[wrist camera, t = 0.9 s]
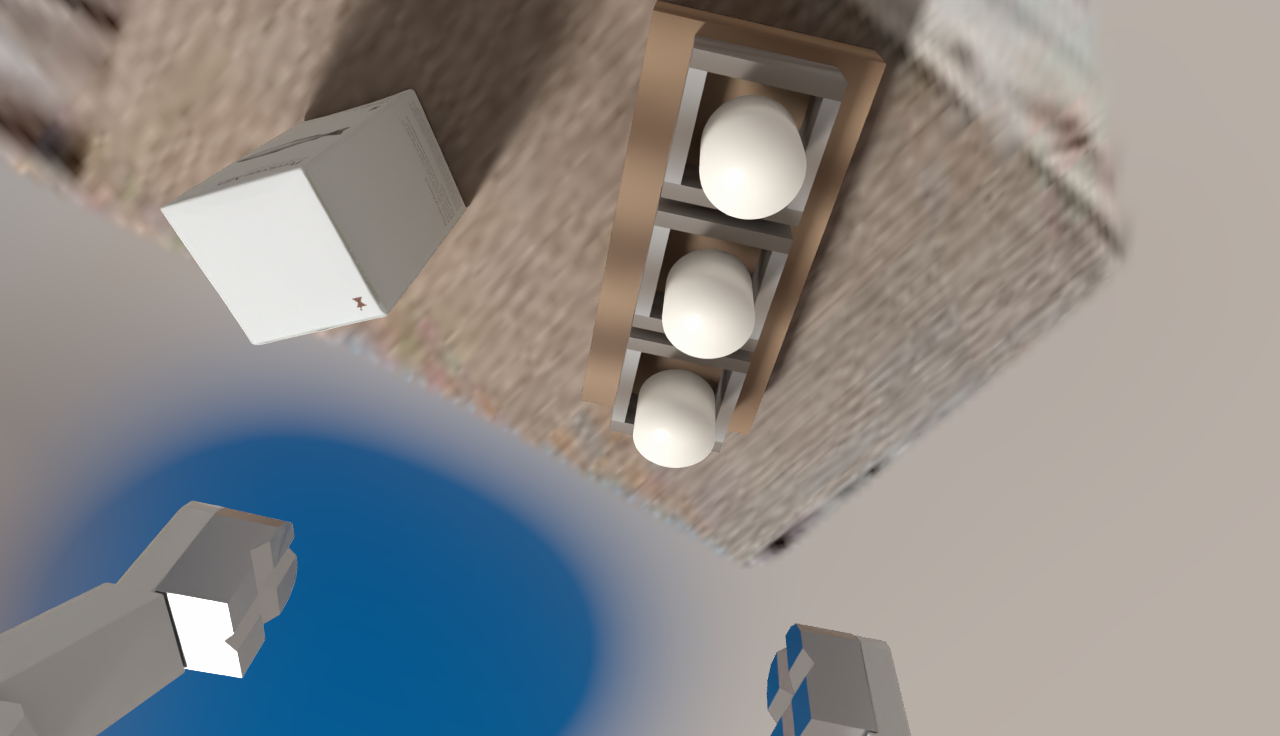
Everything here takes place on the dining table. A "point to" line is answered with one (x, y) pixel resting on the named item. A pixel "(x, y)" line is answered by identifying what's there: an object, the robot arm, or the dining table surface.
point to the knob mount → (686, 219)
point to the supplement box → (323, 220)
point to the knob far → (675, 419)
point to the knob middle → (708, 304)
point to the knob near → (751, 157)
